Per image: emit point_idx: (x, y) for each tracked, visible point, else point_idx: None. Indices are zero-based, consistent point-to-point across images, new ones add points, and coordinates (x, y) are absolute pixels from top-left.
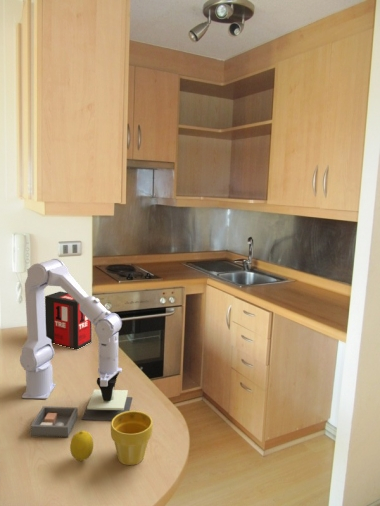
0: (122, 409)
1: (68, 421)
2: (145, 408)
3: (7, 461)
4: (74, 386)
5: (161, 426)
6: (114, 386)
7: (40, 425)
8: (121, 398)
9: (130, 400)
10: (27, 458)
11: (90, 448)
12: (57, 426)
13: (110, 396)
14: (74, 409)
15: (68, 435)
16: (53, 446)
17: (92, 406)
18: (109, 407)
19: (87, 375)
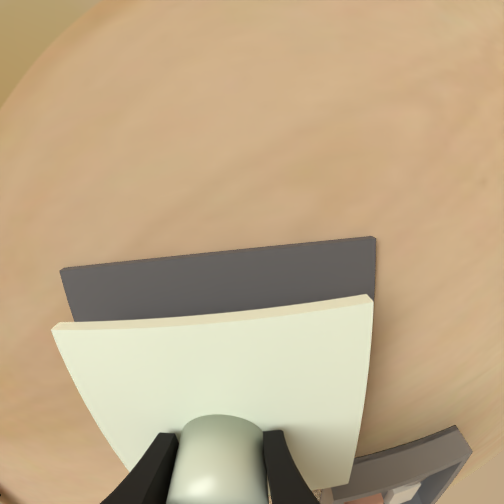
0: (369, 305)
1: (437, 471)
2: (165, 129)
3: (488, 459)
4: (105, 492)
5: (379, 3)
6: (142, 476)
7: (433, 501)
8: (195, 363)
9: (98, 274)
10: (496, 441)
11: None
12: (455, 474)
13: (293, 461)
14: (351, 500)
15: (452, 429)
16: (479, 429)
17: (341, 472)
18: (360, 403)
19: (27, 457)
